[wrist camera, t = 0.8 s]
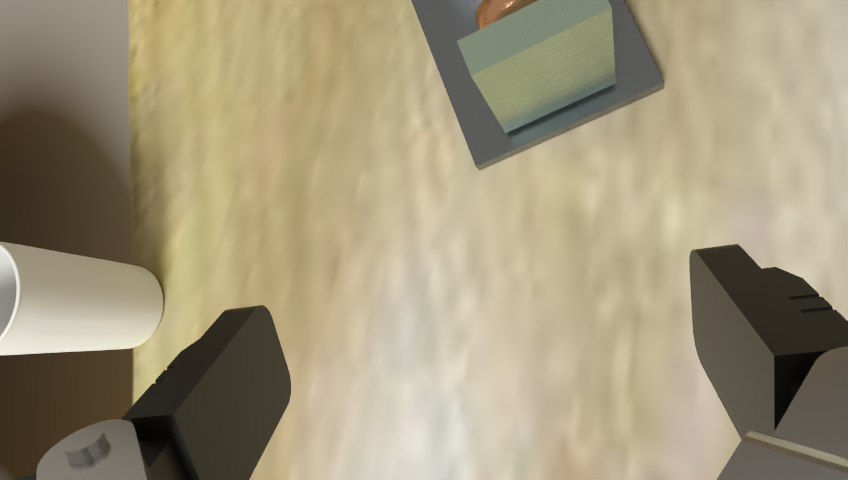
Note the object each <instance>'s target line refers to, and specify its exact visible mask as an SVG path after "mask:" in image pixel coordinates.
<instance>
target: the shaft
mask: <svg viewBox="0 0 848 480" xmlns="http://www.w3.org/2000/svg"><path fill="white" fill-rule="evenodd" d="M475 22H476V24H477V27H478V29H479V30H478V31H476V32H474V33H472V34H470V35H468V36H466V37H464V38H462V39H460V40H458V41H457V43H458V45H459V48H460V50H461V53H462V55H463V58H464V60H465V62H466V65H467V67H468V70H469V72H470V75H471V77H472V79H473V80H474V82H475V83H476V85H477V87H478V88H479V90H480V92H481V93H482V95H483V97H484V98H485V100H486V102H487V103H488V105H489V107H490V108H491V110H492V112H493V113H494V115H495V116H496V118H497V120H498V121H499V123H500V125H501V126H502V128H503V130H504V131H505V133H508V132H510V131H512V130H514V129H516V128H519V127H521V126H523V125H525V124H527V123H530V122H532V121H534V120H536V119H538V118H541V117H543V116H545V115H547V114H549V113H552V112H554V111H556V110H558V109H560V108H563V107H565V106H567V105H569V104H571V103H574V102H576V101H578V100H580V99H582V98H585V97H587V96H589V95H591V94H593V93H596V92H598V91H600V90H602V89H604V88H607V87H609V86H611V85H613V84H615V83H616V77H615V59H614V41H613V23H612V7H611V5H610V3H609V1H608V0H482V2H481V3H480V5H479V6H478V8H477V10H476V14H475Z"/></svg>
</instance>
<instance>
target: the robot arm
mask: <svg viewBox="0 0 848 480" xmlns="http://www.w3.org/2000/svg"><path fill="white" fill-rule="evenodd" d="M690 283H691V302H692V320H693V334H694V340H695V346H696V350H697V353H698V357H699V360H700V362H701V364H702V366H703V368H704V370H705V372H706V374H707V376H708V378H709V379H710V381H711V383H712V385H713V387H714V389H715V391H716V392H717V394H718V396H719V398H720V400H721V402H722V404H723V406H724V407H725V409H726V411H727V413H728V415H729V417H730V419H731V421H732V422H733V424H734V426H735V428H736V430H737V432H738V434H739V435H740V437H741V439H742V440H741V442H740V443H739V445H738V447H737V448H736V450H735V451H734V453H733V455H732V456H731V458H730V459H729V461H728V463H727V464H726V466H725V467H724V469H723V470H722V472H721V474H720V475H719V477H718V478H717V480H848V321H847V320H846V319H845V318H844V317H843V316H842V315H841V314H839V313H838V312H837V311H836V310H833V309H832V306H831V305H830V304H829V303H828V302H827V301H826V300H825V299H824V298H823V297H819V294H818V293H817V292H816V291H815V290H814V289H813V288H812V287H811V286H810V285H809V284H808V283H807V282H806V281H805V280H804V279H803V278H800V277H798V276H796V275H793V274H791V273H789V272H786V271H784V270H782V269H779V268H777V267H772V268H764V269H761V268H760V267H759V266H758V265H757V264H756V263H755V262H754V260H753V259H752V258H751V257H750V256H749V255H748V254H747V253H746V252H745V251H744V250H743V249H742V248H741V247H740V246H739V245H738V244H734V245H727V246H719V247H711V248H704V249H696V250H692V251H691V253H690ZM155 381H156V383H155V384H152V385H151V386H150V387H149V388H148V389H147V390H146V391H145V393H144V394H143V395H142V396H141V397H140V398H139V399H138V400H137V402H136V403H135V404H134V405H133V406H132V407H131V408H130V410H129V411H128V412H127V413H126V414H125V415H124V416H123V417H122V418H121V419H120V420H108V421H104V422H99V423H96V424H93V425H90V426H88V427H85V428H83V429H81V430H79V431H77V432H75V433H73V434H71V435H69V436H68V437H66V438H65V439H63V440H62V441H60V442H59V443H57V444H56V445H55V446H54V447H53V448H51V449H50V450H49V451H48V452H47V453H46V454H45V455H44V457H43V458H42V460H41V461H40V463H39V464H38V467H37V473H35V474H32V475H28V476H25V477H22V478H18V479H15V480H249V479H250V477H251V475H252V473H253V471H254V469H255V467H256V465H257V463H258V461H259V460H260V458H261V456H262V454H263V452H264V450H265V448H266V446H267V444H268V442H269V440H270V438H271V436H272V434H273V433H274V431H275V429H276V427H277V425H278V423H279V421H280V419H281V417H282V415H283V413H284V411H285V409H286V407H287V405H288V403H289V400H290V395H291V380H290V374H289V370H288V367H287V364H286V361H285V357H284V354H283V351H282V348H281V345H280V341H279V338H278V335H277V332H276V329H275V325H274V322H273V319H272V316H271V314H270V312H269V310H268V309H267V308H266V307H265V306H263V305H259V306H252V307H244V308H236V309H229V310H225V311H224V312H223V313H222V314H221V315H220V316H219V317H218V319H217V320H216V321H215V322H214V323H213V324H212V326H211V327H210V328H209V329H208V330H207V331H206V332H205V334H204V335H203V336H202V337H201V338H200V339H199V340H197V341H196V342H194V343H193V344H191V345H190V346H188V347H187V348H186V349H184V350H183V351H181V352H180V353H179V354H178V356H177V357H176V358H175V359H174V360H173V361H172V362H171V363H170V365H169V366H168V367H167V370H164V371H163V372H162V374H161V375H160V376H159V377H158V378H157V379H156V380H155Z"/></svg>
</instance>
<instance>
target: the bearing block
mask: <svg viewBox="0 0 848 480" xmlns="http://www.w3.org/2000/svg"><path fill="white" fill-rule="evenodd" d="M411 1H412V3H413V6H414V8H415V11H416V14H417V16H418V19H419V21H420V24H421V26H422V29H423V31H424V34H425V37H426V39H427V42H428V44H429V47H430V49H431V52H432V55H433V57H434V60H435V62H436V65H437V67H438V70H439V73H440V75H441V78H442V80H443V83H444V85H445V88H446V91H447V93H448V96H449V98H450V101H451V103H452V106H453V109H454V111H455V114H456V116H457V119H458V121H459V124H460V127H461V129H462V132H463V134H464V137H465V139H466V142H467V145H468V147H469V150H470V152H471V155H472V157H473V160H474V163H475V165H476V167H477V168H478V169H479V170H482V169H484V168H486V167H488V166H491V165H493V164H495V163H497V162H500V161H502V160H504V159H506V158H509V157H511V156H513V155H515V154H518V153H520V152H522V151H524V150H527V149H529V148H531V147H533V146H536V145H538V144H540V143H542V142H545V141H547V140H549V139H551V138H554V137H556V136H558V135H560V134H563V133H565V132H567V131H570V130H572V129H574V128H576V127H579V126H581V125H583V124H585V123H588V122H590V121H592V120H594V119H597V118H599V117H601V116H603V115H606V114H608V113H610V112H612V111H615V110H617V109H619V108H621V107H624V106H626V105H628V104H630V103H633V102H635V101H637V100H639V99H642V98H644V97H646V96H648V95H651V94H653V93H655V92H657V91H660V90H662V89H663V88H664V81H663V79H662V77H661V75H660V73H659V71H658V69H657V66H656V64H655V62H654V60H653V58H652V56H651V54H650V52H649V50H648V48H647V46H646V44H645V42H644V40H643V38H642V36H641V34H640V32H639V30H638V28H637V26H636V24H635V22H634V20H633V18H632V16H631V14H630V12H629V10H628V8H627V5H626V3H625V1H624V0H608V1H609V3H610V5H611V7H612V23H613V41H614V59H615V77H616V83H615V84H613V85H611V86H609V87H607V88H604V89H602V90H600V91H598V92H596V93H593V94H591V95H589V96H587V97H585V98H582V99H580V100H578V101H576V102H574V103H571V104H569V105H567V106H565V107H563V108H560V109H558V110H556V111H554V112H552V113H549V114H547V115H545V116H543V117H541V118H538V119H536V120H534V121H532V122H530V123H527V124H525V125H523V126H521V127H519V128H516V129H514V130H512V131H510V132H508V133H505V131H504V130H503V128H502V126H501V125H500V123H499V121H498V120H497V118H496V116H495V115H494V113H493V112H492V110H491V108H490V107H489V105H488V103H487V102H486V100H485V98H484V97H483V95H482V93H481V92H480V90H479V88H478V87H477V85H476V83H475V82H474V80H473V79H472V77H471V75H470V72H469V70H468V67H467V65H466V62H465V60H464V58H463V55H462V53H461V50H460V48H459V45H458V43H457V41H458V40H460V39H462V38H464V37H466V36H468V35H470V34H472V33H474V32H476V31H478V30H479V29H478V27H477V24H476V22H475V14H476V10H477V8H478V6H479V5H480V3H481V2H482V0H411Z"/></svg>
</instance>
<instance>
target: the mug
mask: <svg viewBox="0 0 848 480" xmlns="http://www.w3.org/2000/svg"><path fill="white" fill-rule="evenodd" d="M162 313H163V293H162V290H161V287H160V284H159V282H158V280H157V279H156V277H155V276H154V275H153V274H152V273H151V272H150V271H148V270H147V269H145V268H143V267H140V266H136V265H130V264H124V263H118V262H114V261H108V260H102V259H97V258H91V257H85V256H79V255H74V254H68V253H62V252H57V251H51V250H45V249H40V248H35V247H29V246H23V245H17V244H10V243H4V242H0V355H16V354H35V353H53V352H70V351H71V352H73V351H93V350H112V349H128V348H133V347H136V346H139V345H141V344H143V343H144V342H145V341H147V340H148V339H149V338H150V337H151V336H152V334H153V333H154V332H155V330H156V329H157V327H158V325H159V323H160V320H161V317H162Z"/></svg>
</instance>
